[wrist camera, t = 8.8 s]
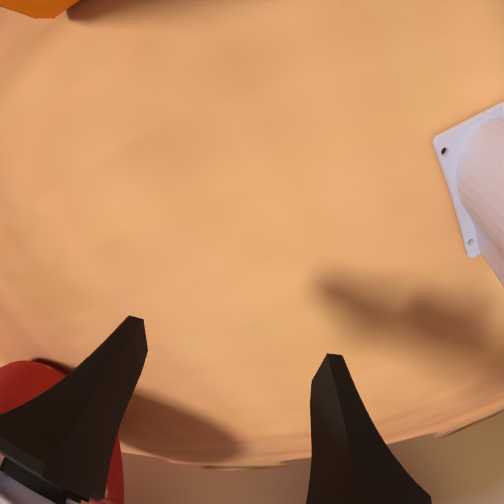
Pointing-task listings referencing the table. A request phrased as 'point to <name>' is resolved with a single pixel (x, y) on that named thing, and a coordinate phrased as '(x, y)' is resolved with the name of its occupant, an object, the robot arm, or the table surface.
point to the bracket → (38, 7)
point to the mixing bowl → (36, 382)
